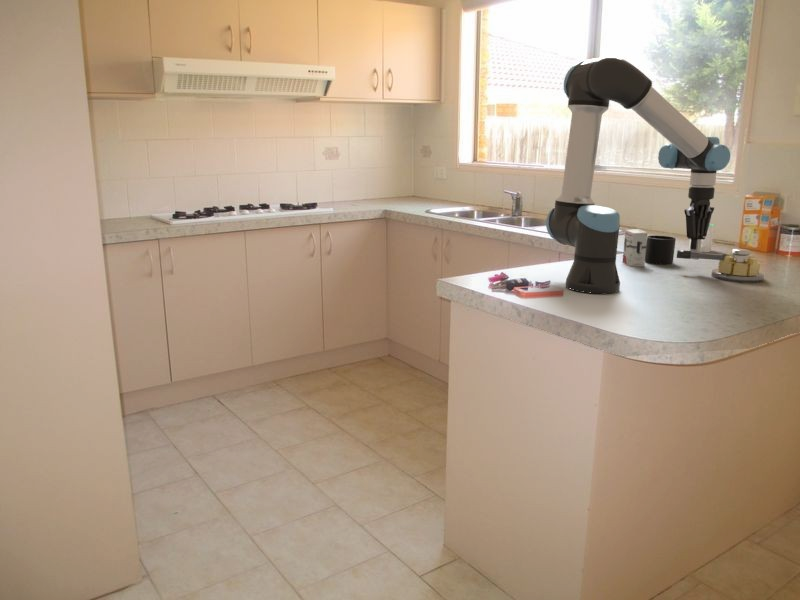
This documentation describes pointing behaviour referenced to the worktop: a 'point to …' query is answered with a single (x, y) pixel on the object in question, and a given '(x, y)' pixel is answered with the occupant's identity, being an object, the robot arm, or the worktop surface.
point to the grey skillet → (726, 262)
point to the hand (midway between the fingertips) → (694, 258)
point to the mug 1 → (660, 250)
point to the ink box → (635, 247)
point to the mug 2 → (706, 240)
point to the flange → (740, 257)
